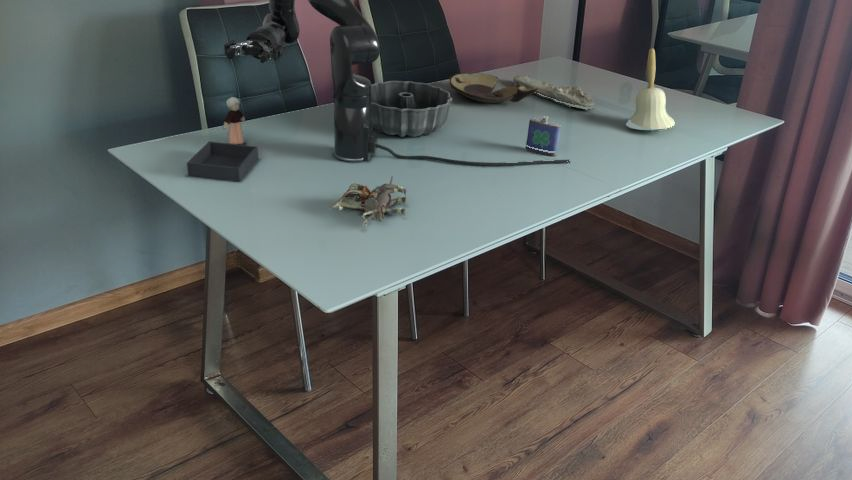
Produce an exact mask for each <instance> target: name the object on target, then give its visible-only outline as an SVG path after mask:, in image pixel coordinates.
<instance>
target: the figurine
mask: <svg viewBox="0 0 852 480" xmlns="http://www.w3.org/2000/svg"><path fill="white" fill-rule="evenodd" d="M393 178H394V177H393V175H391V177H390V181H389V183H383V184H381V185H377V186H376V187H375V188H373V189H372V190H371V189H369V188H368V185H363V184H358V183H351V184H350V185H349V188H348V189H347V190H346V191H345V192H344V193H343V194H342V195H341V197H340V198H339V199H338V200H337V201H335V202H334V203H333V204H332V205H331V206H329V210H331V209H336V208H337V209H338V211H342V210H344V208H347V209H350V210H351V209H352V210H356V211H359V210H361V211H360V214H362V212H363V211H364V212H363V214H362V218H364V220H363V222H362V228H366V227H367V226H368V224H367V223H368V222H369V221H370V220H371V219H374V220H377V221H379V222H383V221H385V214H390V213H392V214H394V213H398V214H402V215H403V216H406V208H402V207H399V208H391V206H393V205H395V204H397V203H398V204H401V203H404V204H405V205H406V204H407V188H403V186H401V185H396V184H393ZM398 193H401V194H403V195H404V196H398V197H396V198H395V197H394V198H392V195H391V194H398ZM367 215H368V217H367V218H366V217H365V216H367Z"/></svg>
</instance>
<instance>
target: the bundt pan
mask: <svg viewBox="0 0 852 480" xmlns="http://www.w3.org/2000/svg"><path fill="white" fill-rule="evenodd" d="M452 101H453V97H451V93H450V92H449V91H447V90H445V89H442V87H440V86H434V85H432V84H429V83H425V82H415V81H411V80H408V81H407V80H405V81H402V80H388V81H376V82H375V83H371V119H372V128H373V129H374V131H376V132H379V133H385V135H386V134H387V135H390V136H395V135H398V136H400V138H404V137H406V136H409V137H411V138H412V137H413V138H415V137H419V136H423V137H426V136H429V135H430V134H431V133H432V134H433V133H436V132H437V131H438V130H440V129H441V128H442V126H444V125H445V123H446V122H447V120H448V116H449V111H450V108H451V107H450V106H451V102H452Z"/></svg>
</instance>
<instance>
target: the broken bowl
mask: <svg viewBox="0 0 852 480" xmlns="http://www.w3.org/2000/svg"><path fill="white" fill-rule="evenodd" d="M448 80H449V86H450V87H451V88H452V89H453V90H455V91H456V92H458V93H459V94H461V95H463V96H464V97H466V98H468V99H471V100H472V101H476V102H478V103H485V104H488V103H489V104H496V103H497V104H498V103H505V102H512V103H518V102H521V101H522V100H524V99H526V98H528V96H531V95H533V94H534V92H536V91H537V90H538V88H532V89H527V88H525V87H524V86H520V87H519V86H516V85H513V84H508V85H506V86H505V87H502V88H500V89H497V90H495V91H493V90H494V89H495V87H496V85H497V83H498V81H499V77H498V76H496V75H493V74H488V73H487V74H486V73H480V72H470V73H469V72H464V73H455V74H453V75H451V76H448ZM490 94H491V95H492V97H490V96H489V97H488V95H490ZM493 96H494V97H493Z"/></svg>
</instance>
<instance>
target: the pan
mask: <svg viewBox="0 0 852 480" xmlns="http://www.w3.org/2000/svg"><path fill="white" fill-rule="evenodd" d="M259 159H260V157H259V147H258V146H257V145H256V146H254V145H248V144H247V145H246V144H243V145H238V144H229V142H228V143H227V142H218V141H208V142H206V143H205V145H203V146H202V148H200V149H199V150H198V151H197V152H195V154H194V155H193V156H192V157H191V158H190V159H189V160H188V161H187V162H186V170H187V176H188V177H190V178H191V177H192V178H201V179H202V178H203V179H210V180H218V181H219V180H220V181H227V182H228V181H230V182H239V183H240V182H241V181H242V180H243V179H244V178H245V176H246V175H247V174H248V173H249V172H250V171H251V169H252V168H253V167H254V166H255V164H256V163H257V162H258V161H259Z"/></svg>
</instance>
